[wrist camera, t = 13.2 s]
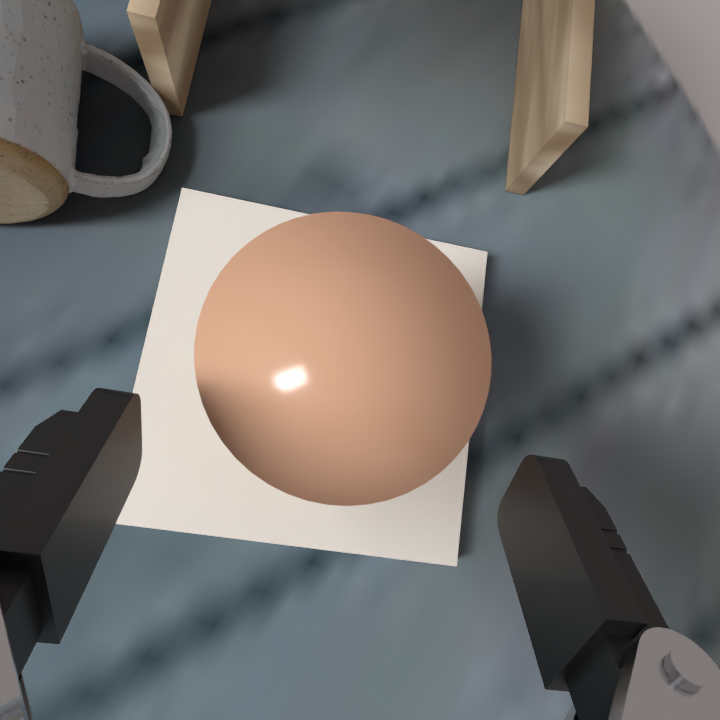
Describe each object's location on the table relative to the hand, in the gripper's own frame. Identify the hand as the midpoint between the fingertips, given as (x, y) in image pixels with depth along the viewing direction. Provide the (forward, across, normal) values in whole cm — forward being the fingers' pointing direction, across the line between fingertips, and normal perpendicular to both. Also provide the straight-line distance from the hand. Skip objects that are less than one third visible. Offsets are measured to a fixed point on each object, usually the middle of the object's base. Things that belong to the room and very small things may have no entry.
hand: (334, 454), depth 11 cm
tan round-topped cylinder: (+9, 0, +6) cm, 11 cm away
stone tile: (+11, 0, +6) cm, 12 cm away
